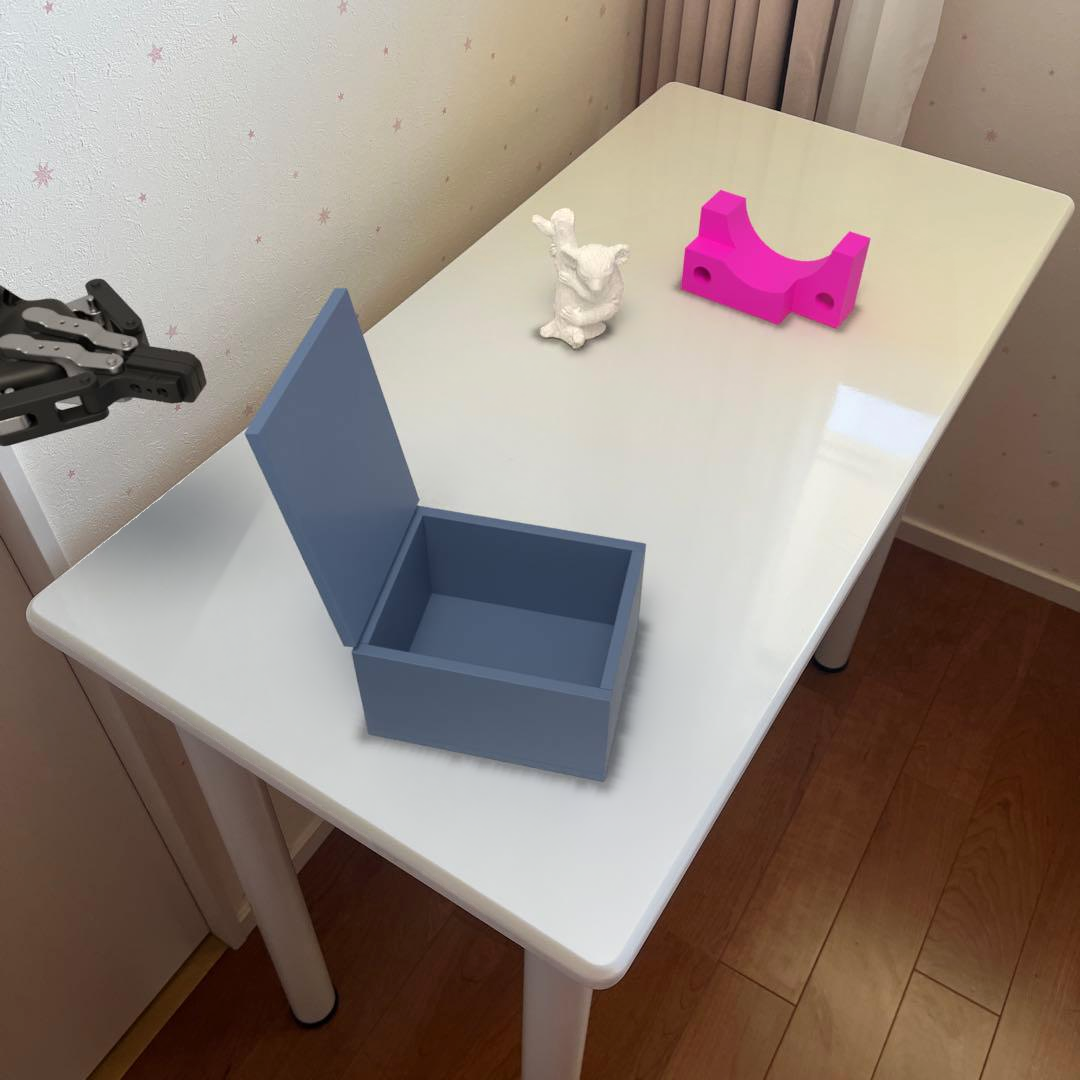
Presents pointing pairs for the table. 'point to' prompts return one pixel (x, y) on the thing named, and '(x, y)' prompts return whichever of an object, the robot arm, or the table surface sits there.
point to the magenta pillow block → (768, 269)
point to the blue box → (502, 641)
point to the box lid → (336, 465)
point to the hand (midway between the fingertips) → (197, 380)
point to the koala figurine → (581, 281)
